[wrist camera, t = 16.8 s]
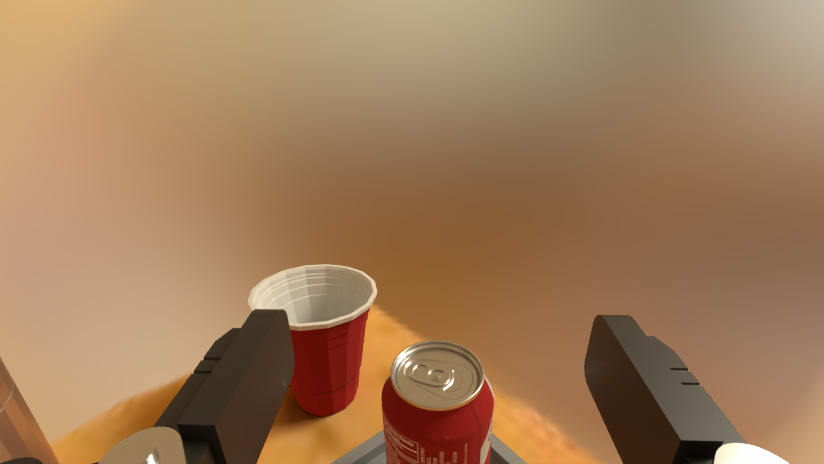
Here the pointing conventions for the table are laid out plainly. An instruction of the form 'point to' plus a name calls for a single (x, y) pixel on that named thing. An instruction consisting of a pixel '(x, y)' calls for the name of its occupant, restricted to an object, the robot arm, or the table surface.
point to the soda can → (437, 406)
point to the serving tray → (371, 455)
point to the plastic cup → (321, 330)
